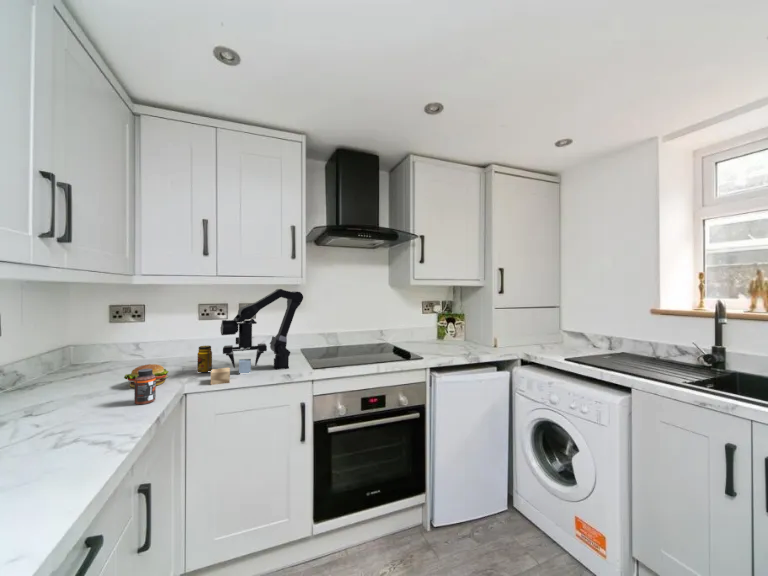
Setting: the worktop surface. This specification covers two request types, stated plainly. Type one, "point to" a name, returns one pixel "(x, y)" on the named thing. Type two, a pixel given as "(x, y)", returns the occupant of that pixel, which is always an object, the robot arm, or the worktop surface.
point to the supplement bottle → (145, 387)
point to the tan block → (220, 376)
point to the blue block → (244, 365)
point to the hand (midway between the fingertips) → (245, 366)
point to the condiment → (204, 359)
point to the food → (157, 371)
